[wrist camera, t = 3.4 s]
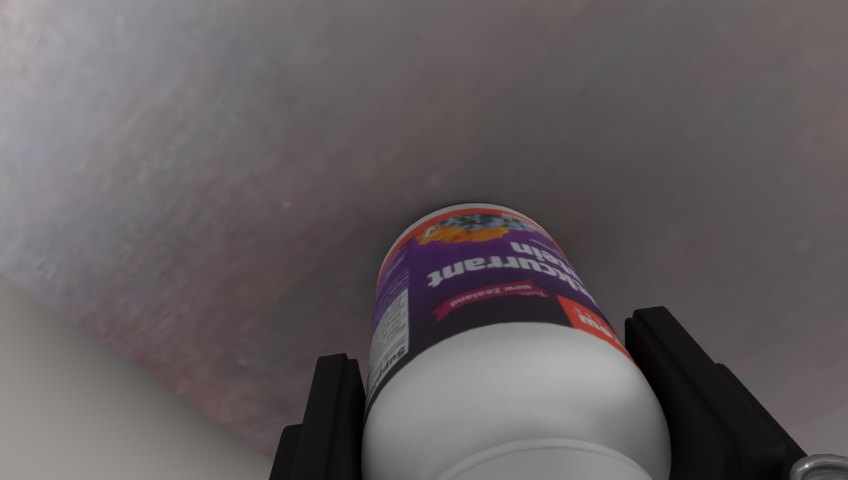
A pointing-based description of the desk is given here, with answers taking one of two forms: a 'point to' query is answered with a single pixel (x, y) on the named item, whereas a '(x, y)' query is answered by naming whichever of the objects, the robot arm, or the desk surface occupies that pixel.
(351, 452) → the robot arm
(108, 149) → the desk surface
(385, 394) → the pill bottle
